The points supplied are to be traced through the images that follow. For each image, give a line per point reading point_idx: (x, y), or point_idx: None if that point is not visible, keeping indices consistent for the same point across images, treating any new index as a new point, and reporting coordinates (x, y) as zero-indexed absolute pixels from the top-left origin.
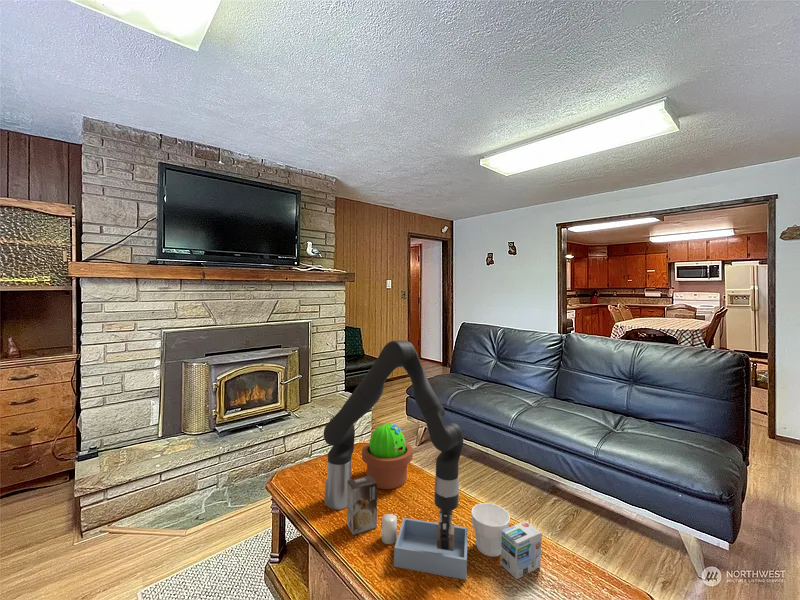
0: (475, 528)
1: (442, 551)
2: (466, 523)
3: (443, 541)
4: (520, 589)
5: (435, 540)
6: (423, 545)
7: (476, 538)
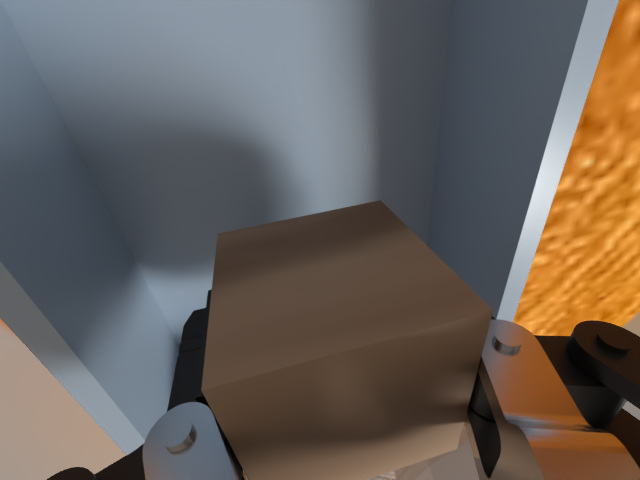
0: (459, 465)
1: (321, 206)
2: (584, 251)
3: (175, 396)
4: (245, 477)
5: (424, 123)
6: (340, 23)
7: None
